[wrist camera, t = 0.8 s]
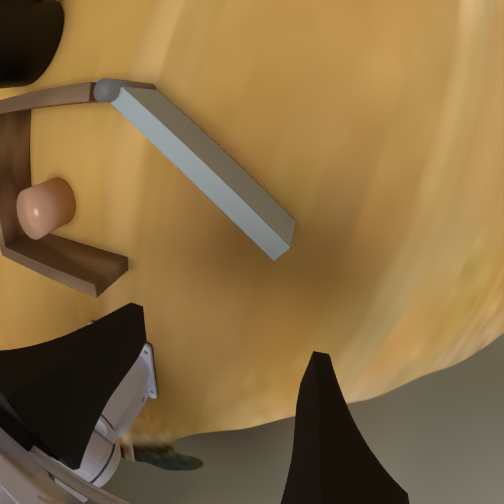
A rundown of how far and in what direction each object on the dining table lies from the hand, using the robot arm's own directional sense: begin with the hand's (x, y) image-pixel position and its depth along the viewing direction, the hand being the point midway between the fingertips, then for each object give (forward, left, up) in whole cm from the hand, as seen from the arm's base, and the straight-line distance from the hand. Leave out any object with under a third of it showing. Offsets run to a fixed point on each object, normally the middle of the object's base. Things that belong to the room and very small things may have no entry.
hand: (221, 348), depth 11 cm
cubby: (+3, +18, -10) cm, 21 cm away
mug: (+17, +24, -10) cm, 31 cm away
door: (+6, +4, -10) cm, 12 cm away
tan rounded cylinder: (0, +19, -10) cm, 22 cm away
